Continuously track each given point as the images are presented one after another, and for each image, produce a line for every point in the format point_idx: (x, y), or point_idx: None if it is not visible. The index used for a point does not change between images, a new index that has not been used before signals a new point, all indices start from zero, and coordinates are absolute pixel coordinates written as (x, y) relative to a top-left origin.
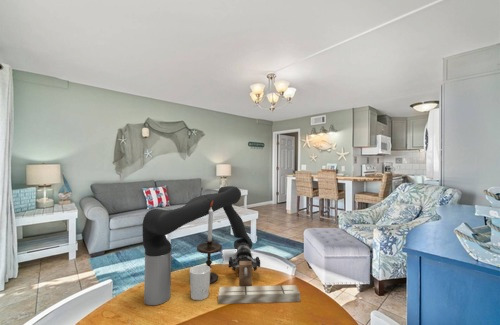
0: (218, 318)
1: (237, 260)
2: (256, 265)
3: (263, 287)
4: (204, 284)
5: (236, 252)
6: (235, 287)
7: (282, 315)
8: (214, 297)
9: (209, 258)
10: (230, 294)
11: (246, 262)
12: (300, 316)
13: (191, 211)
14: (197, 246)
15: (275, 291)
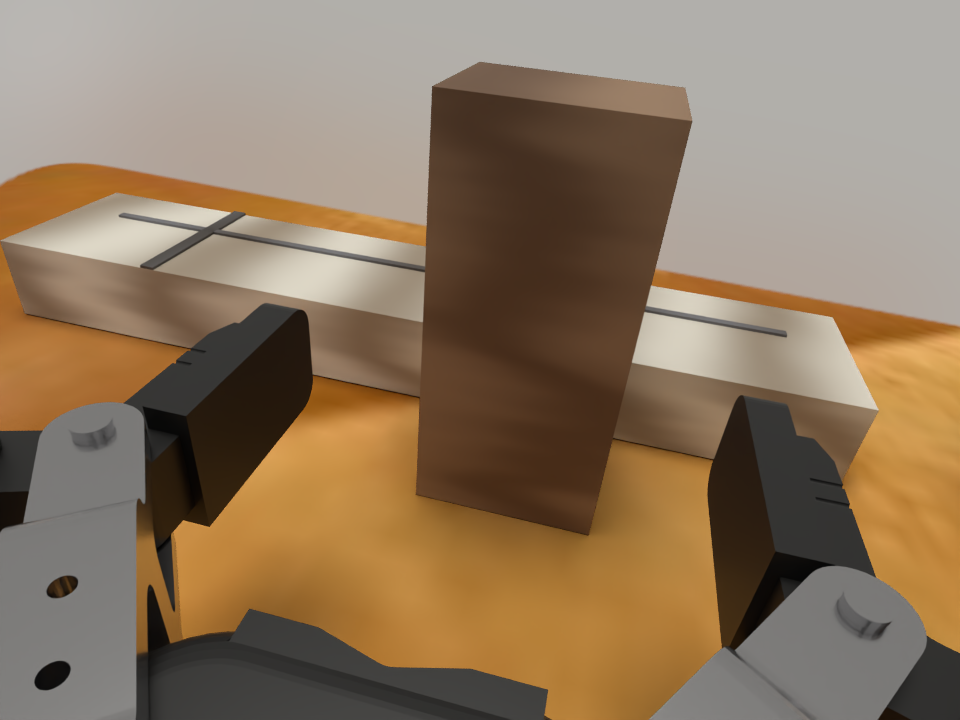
0: (757, 295)
1: (729, 650)
2: (204, 345)
3: (350, 290)
4: None
5: None
6: (666, 356)
7: (356, 230)
8: (885, 465)
9: None
10: (712, 301)
11: (548, 87)
12: (265, 209)
13: None
14: None
15: (283, 238)
